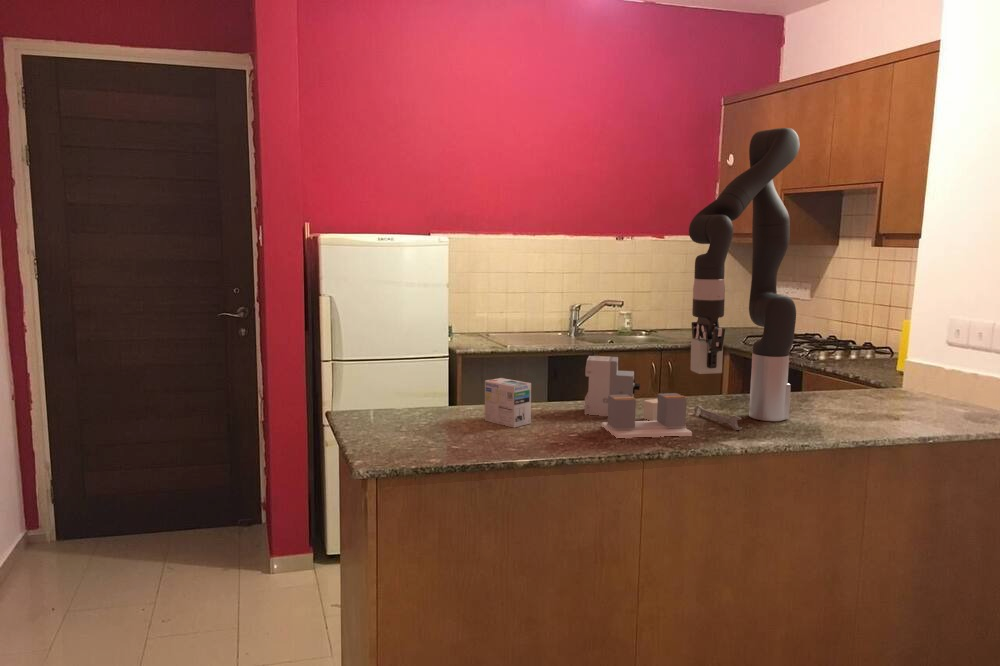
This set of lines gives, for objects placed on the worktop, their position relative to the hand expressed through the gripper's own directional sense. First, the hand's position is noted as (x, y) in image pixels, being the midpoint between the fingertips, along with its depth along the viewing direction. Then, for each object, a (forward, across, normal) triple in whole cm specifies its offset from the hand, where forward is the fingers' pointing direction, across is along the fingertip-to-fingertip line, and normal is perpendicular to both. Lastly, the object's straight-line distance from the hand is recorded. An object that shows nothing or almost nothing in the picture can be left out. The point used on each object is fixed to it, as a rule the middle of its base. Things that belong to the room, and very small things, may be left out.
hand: (706, 365), depth 189 cm
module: (+1, 0, 0) cm, 1 cm away
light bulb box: (+16, +14, +47) cm, 52 cm away
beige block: (+16, +12, +8) cm, 22 cm away
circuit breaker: (+16, +20, +17) cm, 31 cm away
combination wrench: (+17, +7, -7) cm, 20 cm away
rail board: (+16, +1, +15) cm, 22 cm away
